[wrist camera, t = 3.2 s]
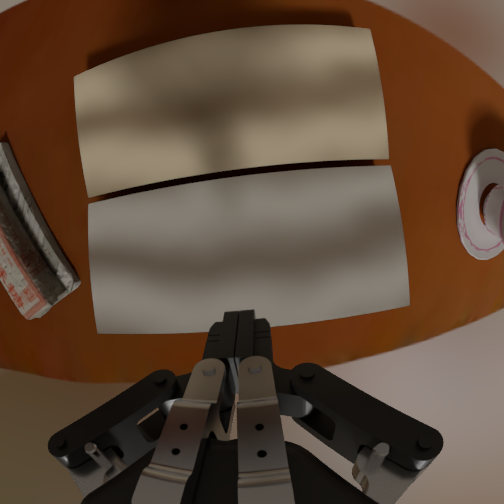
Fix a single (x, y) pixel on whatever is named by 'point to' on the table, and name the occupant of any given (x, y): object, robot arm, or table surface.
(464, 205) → the teacup
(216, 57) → the oak plank
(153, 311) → the whitewashed plank
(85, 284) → the table surface
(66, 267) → the packaged product
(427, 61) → the table surface
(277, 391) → the robot arm
